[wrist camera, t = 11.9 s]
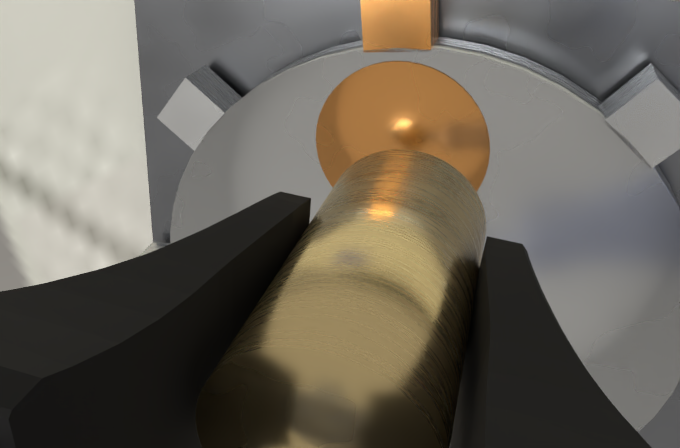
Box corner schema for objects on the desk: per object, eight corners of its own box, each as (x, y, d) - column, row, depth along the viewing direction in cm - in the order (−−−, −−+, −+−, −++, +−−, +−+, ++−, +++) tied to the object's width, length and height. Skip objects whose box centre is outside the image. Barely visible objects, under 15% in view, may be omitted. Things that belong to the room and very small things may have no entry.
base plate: (882, 21, 14) (901, 32, 14) (626, 518, 24) (628, 542, 23) (148, -80, 18) (128, -77, 17) (177, 389, 27) (166, 406, 26)
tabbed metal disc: (398, -202, 14) (327, -221, 9) (906, 330, 16) (1032, 505, 12) (68, 253, 23) (-43, 347, 19) (422, 545, 26) (396, 686, 22)
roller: (500, 165, 12) (465, 390, 7) (471, 304, 14) (424, 568, 9) (333, 135, 13) (189, 323, 8) (323, 272, 14) (200, 500, 9)
